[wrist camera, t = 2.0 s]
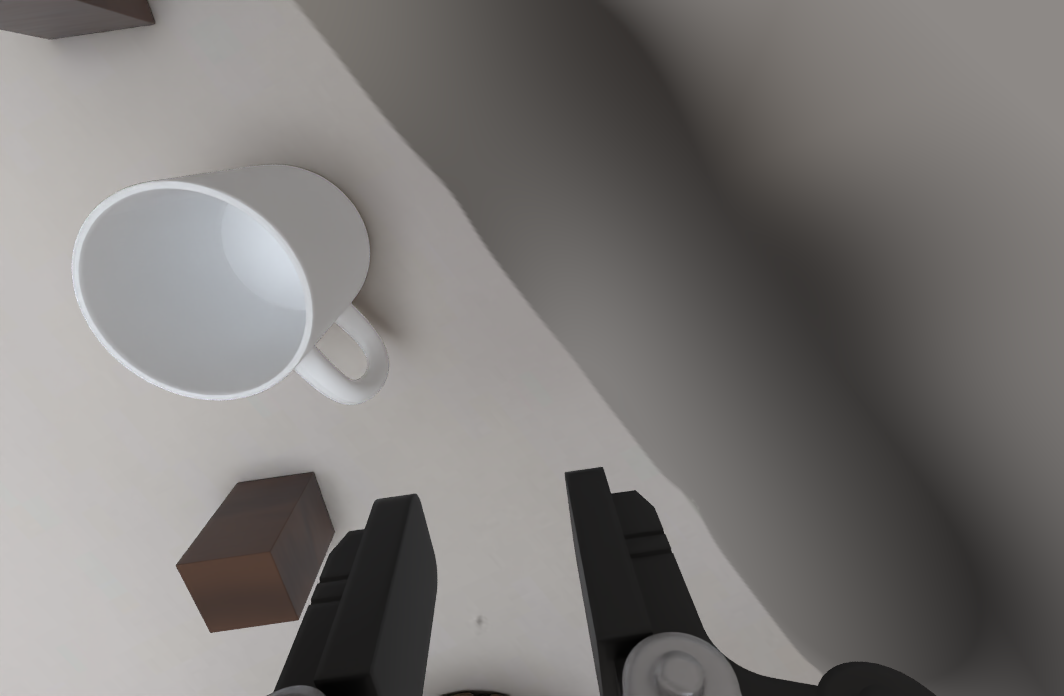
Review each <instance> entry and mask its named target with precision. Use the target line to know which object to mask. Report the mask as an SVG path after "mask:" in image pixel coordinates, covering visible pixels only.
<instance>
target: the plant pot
mask: <svg viewBox="0 0 1064 696" xmlns="http://www.w3.org/2000/svg"><path fill="white" fill-rule="evenodd" d="M451 696H474V695H472V694H471V693H469V692H468V693H459V694H455V695H451ZM491 696H502V695H498V694H492V695H491Z"/></svg>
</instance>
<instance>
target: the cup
mask: <svg viewBox="0 0 1064 696" xmlns="http://www.w3.org/2000/svg"><path fill="white" fill-rule="evenodd" d="M369 263H370V244H369V238H368V234H367V230H366V227H365V225H364V222H363V220H362V218H361V216H360V214H359V212H358V211H357V209H356V208H355V206H354V205H353V203H352V202H351V201H350V200H349V198H348V197H347V196H346V195H345V194H344V193H343V192H342V191H341V190H340V189H339V188H337V187H336V186H335V185H334V184H332V183H331V182H330V181H328V180H327V179H325V178H323V177H321V176H320V175H318V174H316V173H313V172H311V171H309V170H305V169H302V168H299V167H294V166H290V165H282V164H267V165H257V166H250V167H243V168H236V169H229V170H223V171H216V172H209V173H202V174H195V175H189V176H182V177H175V178H168V179H162V180H155V181H149V182H143V183H139V184H135V185H132V186H129V187H126V188H124V189H122V190H119V191H117V192H116V193H114V194H112V195H111V196H109V197H107V198H106V199H105V200H104V201H102V202H101V203H100V204H99V205H98V206H97V207H96V208H95V209H94V210H93V211H92V212H91V213H90V215H89V216H88V217H87V218H86V220H85V222H84V223H83V225H82V227H81V229H80V231H79V233H78V236H77V238H76V241H75V245H74V249H73V255H72V281H73V287H74V292H75V295H76V299H77V302H78V305H79V307H80V309H81V312H82V314H83V316H84V318H85V320H86V322H87V324H88V325H89V327H90V329H91V330H92V332H93V333H94V335H95V336H96V337H97V339H98V340H99V341H100V343H101V344H102V345H103V346H104V347H105V348H106V349H107V351H108V352H109V353H110V354H111V355H112V356H113V357H114V358H115V359H116V360H118V361H119V362H120V363H121V364H122V365H124V366H125V367H126V368H127V369H129V370H130V371H131V372H133V373H134V374H136V375H137V376H139V377H141V378H142V379H144V380H146V381H147V382H149V383H151V384H153V385H155V386H157V387H160V388H162V389H164V390H167V391H169V392H172V393H175V394H178V395H182V396H186V397H190V398H196V399H204V400H232V399H239V398H245V397H248V396H252V395H255V394H258V393H260V392H263V391H265V390H267V389H269V388H271V387H273V386H274V385H276V384H278V383H279V382H281V381H282V380H283V379H284V378H285V377H287V376H288V375H289V374H290V373H291V372H292V371H293V370H295V371H296V372H297V373H298V374H299V375H300V376H301V377H302V378H303V379H304V380H305V381H307V382H308V383H309V384H310V385H311V386H312V387H314V388H315V389H316V390H317V391H319V392H320V393H321V394H323V395H325V396H326V397H328V398H329V399H331V400H333V401H335V402H338V403H341V404H346V405H355V404H361V403H363V402H366V401H367V400H369V399H371V398H372V397H374V396H375V395H376V394H377V393H378V392H379V391H380V389H381V388H382V386H383V385H384V383H385V381H386V379H387V375H388V371H389V358H388V354H387V350H386V348H385V345H384V343H383V341H382V339H381V338H380V336H379V334H378V333H377V331H376V330H375V329H374V327H373V326H372V325H371V324H370V322H369V321H368V320H367V319H366V318H365V317H364V316H363V315H362V314H361V313H360V311H359V310H358V309H357V308H356V307H355V306H354V305H353V304H352V301H353V299H354V298H355V297H356V296H357V294H358V292H359V291H360V289H361V288H362V286H363V284H364V281H365V279H366V276H367V273H368V269H369ZM333 323H336V324H337V325H338V326H339V327H341V328H342V329H343V330H344V331H345V332H346V333H347V334H349V335H350V336H351V337H352V338H353V339H354V340H355V341H356V343H357V344H358V345H359V346H360V347H361V349H362V350H363V352H364V354H365V356H366V358H367V370H366V372H365V374H364V375H363V376H362V377H361V378H360V379H358V380H352V379H350V378H348V377H346V376H345V375H344V374H343V373H342V372H340V371H339V370H338V369H337V368H336V367H335V366H334V365H333V364H332V363H331V362H330V361H329V360H328V359H327V358H326V357H325V356H324V355H323V353H322V352H321V351H320V350H319V349H318V348H317V347H316V346H315V344H316V343H317V342H318V341H319V339H320V338H321V337H322V336H323V335H324V334H325V333H326V331H327V330H328V329H329V328H330V327H331V326H332V324H333Z"/></svg>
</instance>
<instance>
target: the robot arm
mask: <svg viewBox="0 0 1064 696" xmlns="http://www.w3.org/2000/svg"><path fill="white" fill-rule="evenodd" d="M565 481H566V488H567V496H568V503H569V511H570V518H571V526H572V533H573V541H574V547H575V554H576V560H577V566H578V572H579V578H580V584H581V589H582V595H583V601H584V606H585V612H586V618H587V623H588V629H589V635H590V641H591V646H592V652H593V658H594V663H595V669H596V675H597V680H598V686H599V692H600V696H936V695H935V694H934V693H932V692H931V691H929V690H928V689H927V688H925V687H924V686H923V685H921V684H920V683H918V682H917V681H915V680H914V679H912V678H910V677H909V676H906V675H905V674H903V673H901V672H899V671H897V670H894V669H892V668H889V667H886V666H882V665H879V664H875V663H869V662H849V663H843V664H840V665H837V666H835V667H833V668H832V669H830V670H829V671H828V672H827V673H826V674H825V675H824V676H823V677H822V679H821V680H820V682H819V684H818V686H815V685H810V684H804V683H798V682H793V681H787V680H781V679H776V678H771V677H766V676H762V675H759V674H756V673H754V672H751V671H748V670H746V669H745V668H743V667H741V666H739V665H737V664H736V663H734V662H733V661H731V660H730V659H728V658H727V657H726V656H725V655H724V654H722V653H721V652H720V651H719V650H718V649H717V648H716V646H715V645H714V644H713V643H712V642H711V640H710V639H709V637H708V636H707V634H706V632H705V630H704V628H703V626H702V623H701V621H700V618H699V616H698V613H697V611H696V608H695V606H694V604H693V601H692V599H691V596H690V594H689V591H688V589H687V586H686V584H685V581H684V579H683V577H682V574H681V572H680V569H679V567H678V564H677V562H676V559H675V557H674V554H673V553H672V551H671V547H670V545H669V542H668V540H667V537H666V535H665V534H664V531H663V527H662V525H661V522H660V520H659V518H658V515H657V513H656V510H655V508H654V507H653V506H652V505H651V504H650V503H649V502H648V501H647V500H646V499H645V498H643V497H642V496H641V495H640V494H639V493H638V492H637V491H636V490H634V491H627V492H620V493H613V494H611V492H610V489H609V485H608V482H607V479H606V475H605V472H604V469H603V467H598V468H592V469H585V470H578V471H571V472H565ZM436 593H437V565H436V559H435V554H434V550H433V546H432V543H431V539H430V535H429V531H428V528H427V524H426V520H425V516H424V512H423V509H422V505H421V502H420V499H419V497H418V495H417V494H410V495H403V496H396V497H389V498H382V499H377V500H375V502H374V504H373V506H372V509H371V512H370V515H369V518H368V521H367V524H366V527H365V529H362V530H355V531H349V532H348V533H347V534H346V536H345V537H344V538H343V539H342V540H341V541H340V542H339V544H338V545H337V546H336V547H335V548H334V549H333V550H332V552H331V553H330V554H329V556H328V559H327V561H326V564H325V566H324V569H323V571H322V574H321V576H320V583H319V584H317V586H316V588H315V591H314V593H313V596H312V598H311V605H309V606H308V608H307V611H306V613H305V616H304V618H303V621H302V623H301V626H300V628H299V631H298V633H297V635H296V638H295V640H294V643H293V645H292V648H291V650H290V653H289V655H288V658H287V660H286V663H285V665H284V668H283V670H282V673H281V675H280V678H279V680H278V682H277V685H276V687H275V690H274V692H273V693H271V694H269V695H267V696H422V694H423V687H424V680H425V673H426V665H427V658H428V651H429V644H430V636H431V629H432V622H433V615H434V608H435V600H436Z"/></svg>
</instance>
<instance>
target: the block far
mask: <svg viewBox="0 0 1064 696" xmlns="http://www.w3.org/2000/svg"><path fill="white" fill-rule="evenodd" d="M334 533H335V532H334V529H333V526H332V523H331V521H330V518H329V515H328V512H327V509H326V506H325V504H324V501H323V498H322V495H321V492H320V489H319V487H318V484H317V481H316V478H315V475H314V473H313V472H311V473H305V474H298V475H291V476H284V477H277V478H270V479H263V480H256V481H249V482H242V483H237V484H236V485H235V487H234V488H233V489H232V491H231V492H230V493H229V495H228V496H227V497H226V499H225V500H224V501H223V503H222V504H221V505H220V507H219V508H218V509H217V511H216V512H215V513H214V515H213V516H212V517H211V519H210V520H209V521H208V523H207V524H206V525H205V527H204V528H203V529H202V531H201V532H200V534H199V535H198V536H197V538H196V539H195V540H194V542H193V543H192V544H191V546H190V547H189V548H188V550H187V551H186V552H185V554H184V555H183V556H182V558H181V559H180V560H179V562H178V563H177V564H176V567H177V569H178V571H179V573H180V575H181V577H182V579H183V581H184V583H185V585H186V587H187V588H188V590H189V592H190V594H191V596H192V598H193V600H194V602H195V604H196V606H197V608H198V610H199V612H200V614H201V616H202V618H203V619H204V621H205V623H206V625H207V627H208V629H209V631H210V633H213V632H220V631H227V630H234V629H241V628H248V627H255V626H261V625H268V624H275V623H282V622H289V621H296V620H299V618H300V615H301V613H302V611H303V608H304V606H305V603H306V601H307V598H308V596H309V594H310V591H311V589H312V586H313V584H314V582H315V579H316V577H317V574H318V572H319V569H320V567H321V565H322V562H323V560H324V557H325V555H326V552H327V550H328V548H329V545H330V543H331V540H332V538H333V535H334Z"/></svg>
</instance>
